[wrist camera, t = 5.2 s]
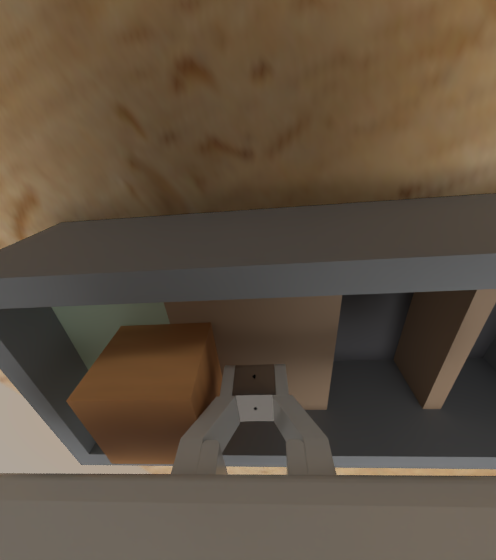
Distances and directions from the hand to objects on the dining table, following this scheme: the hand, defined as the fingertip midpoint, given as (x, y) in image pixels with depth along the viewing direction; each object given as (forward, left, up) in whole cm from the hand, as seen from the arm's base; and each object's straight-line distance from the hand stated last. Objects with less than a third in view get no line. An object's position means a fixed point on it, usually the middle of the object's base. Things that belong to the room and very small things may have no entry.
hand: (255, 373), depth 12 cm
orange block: (0, -4, -1) cm, 4 cm away
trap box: (0, +3, -5) cm, 6 cm away
